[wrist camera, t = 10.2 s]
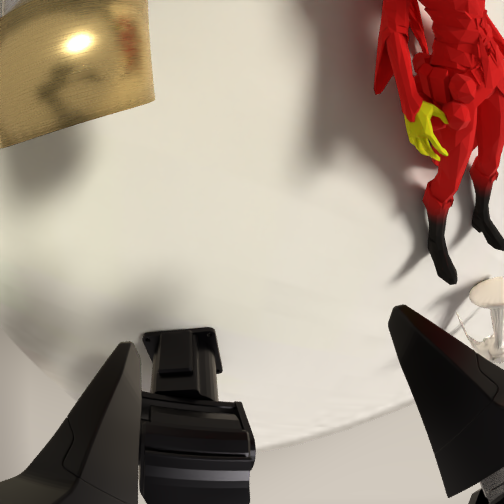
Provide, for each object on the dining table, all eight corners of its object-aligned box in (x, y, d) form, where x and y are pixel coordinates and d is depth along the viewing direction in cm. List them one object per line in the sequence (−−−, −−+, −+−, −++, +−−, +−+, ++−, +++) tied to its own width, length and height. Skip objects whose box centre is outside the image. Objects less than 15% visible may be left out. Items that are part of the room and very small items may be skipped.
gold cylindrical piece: (165, 94, 11) (133, 112, 6) (44, 122, 11) (-34, 164, 6) (157, -63, 7) (131, -128, 2) (35, -24, 6) (-40, -47, 2)
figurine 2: (449, 287, 31) (453, 354, 32) (516, 315, 19) (508, 396, 20) (491, 266, 31) (494, 331, 32) (557, 284, 19) (550, 362, 20)
